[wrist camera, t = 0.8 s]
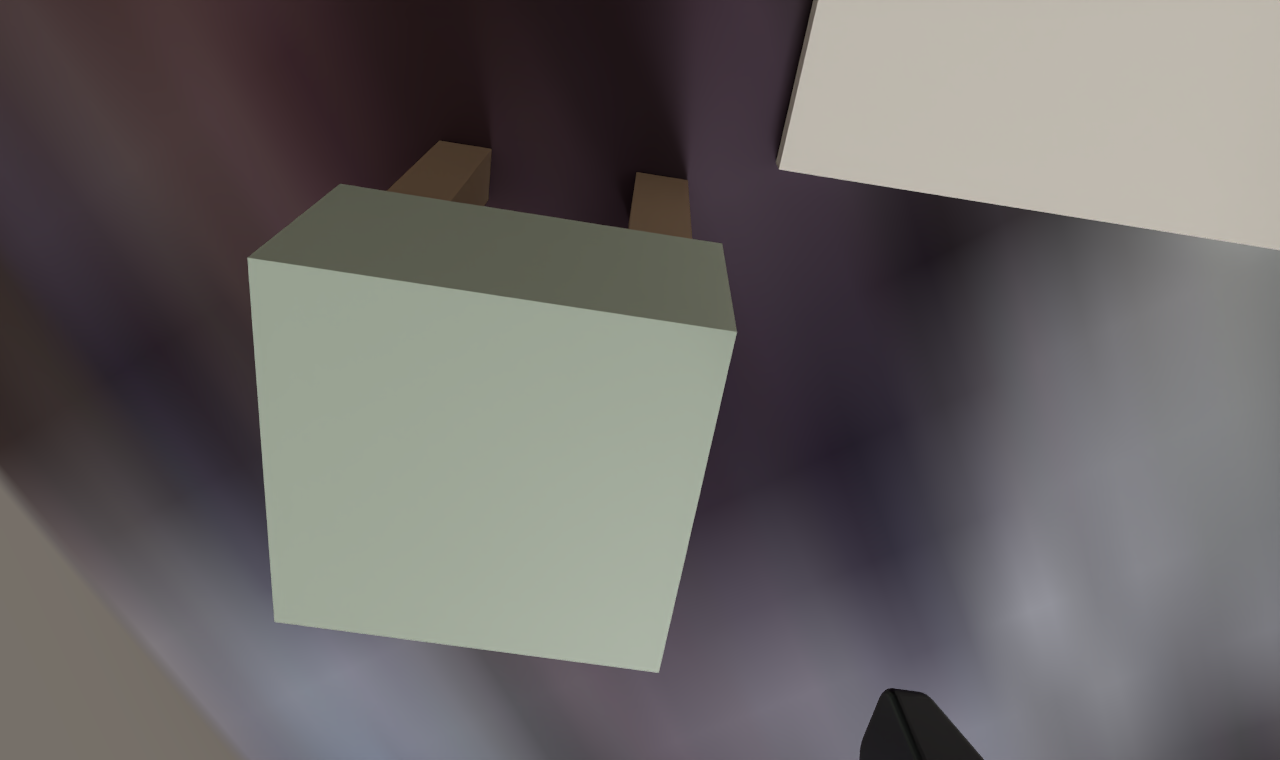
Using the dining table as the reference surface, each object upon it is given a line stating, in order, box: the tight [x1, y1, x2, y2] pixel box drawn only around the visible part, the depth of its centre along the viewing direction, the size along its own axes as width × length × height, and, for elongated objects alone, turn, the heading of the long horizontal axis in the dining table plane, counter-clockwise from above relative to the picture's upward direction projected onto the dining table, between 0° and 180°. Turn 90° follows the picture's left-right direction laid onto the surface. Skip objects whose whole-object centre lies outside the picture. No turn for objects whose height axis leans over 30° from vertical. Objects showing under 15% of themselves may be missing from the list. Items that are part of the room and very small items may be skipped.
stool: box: [248, 141, 737, 673], centre depth 14 cm, size 6×6×8 cm
